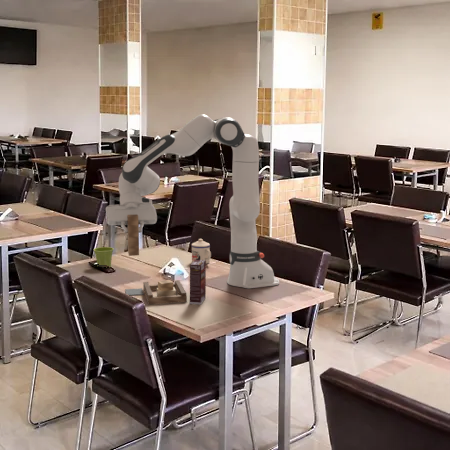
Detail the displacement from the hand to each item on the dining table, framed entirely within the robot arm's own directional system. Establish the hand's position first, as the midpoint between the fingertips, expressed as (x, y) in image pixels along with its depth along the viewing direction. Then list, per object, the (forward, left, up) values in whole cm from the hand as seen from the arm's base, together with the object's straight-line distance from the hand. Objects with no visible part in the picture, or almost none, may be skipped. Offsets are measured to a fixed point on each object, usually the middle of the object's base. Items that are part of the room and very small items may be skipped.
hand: (133, 232), depth 267 cm
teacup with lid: (-37, -44, -26) cm, 62 cm away
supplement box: (-24, +16, -26) cm, 39 cm away
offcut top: (-12, +10, -22) cm, 27 cm away
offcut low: (-12, +10, -26) cm, 30 cm away
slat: (0, -1, -9) cm, 9 cm away
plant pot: (+10, -46, -26) cm, 53 cm away
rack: (-12, +6, -25) cm, 29 cm away
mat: (0, -1, -25) cm, 25 cm away
